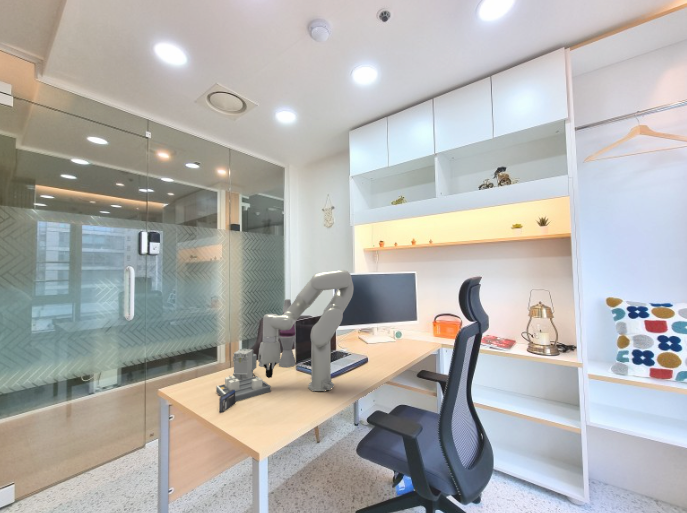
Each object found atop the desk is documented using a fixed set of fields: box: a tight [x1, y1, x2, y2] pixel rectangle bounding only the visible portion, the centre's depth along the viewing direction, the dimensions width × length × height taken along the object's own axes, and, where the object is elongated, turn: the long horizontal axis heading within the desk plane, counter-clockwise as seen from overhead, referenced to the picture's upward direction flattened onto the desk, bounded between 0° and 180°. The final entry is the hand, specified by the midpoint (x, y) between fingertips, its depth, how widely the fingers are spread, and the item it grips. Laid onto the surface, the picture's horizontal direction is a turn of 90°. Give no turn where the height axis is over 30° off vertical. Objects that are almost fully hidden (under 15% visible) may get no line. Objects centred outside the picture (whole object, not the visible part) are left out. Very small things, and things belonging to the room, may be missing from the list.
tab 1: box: [224, 375, 235, 388], centre depth 139 cm, size 3×4×5 cm
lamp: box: [278, 298, 296, 368], centre depth 178 cm, size 11×11×40 cm
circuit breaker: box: [232, 348, 258, 380], centre depth 156 cm, size 8×14×15 cm, turn 174°
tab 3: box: [252, 376, 263, 390], centre depth 136 cm, size 3×4×5 cm
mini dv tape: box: [218, 390, 236, 413], centre depth 122 cm, size 8×2×6 cm, turn 164°
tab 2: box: [229, 379, 239, 391], centre depth 135 cm, size 3×4×5 cm
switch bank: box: [215, 376, 272, 403], centre depth 138 cm, size 17×20×3 cm
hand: (269, 376), depth 141 cm, fingers closed
